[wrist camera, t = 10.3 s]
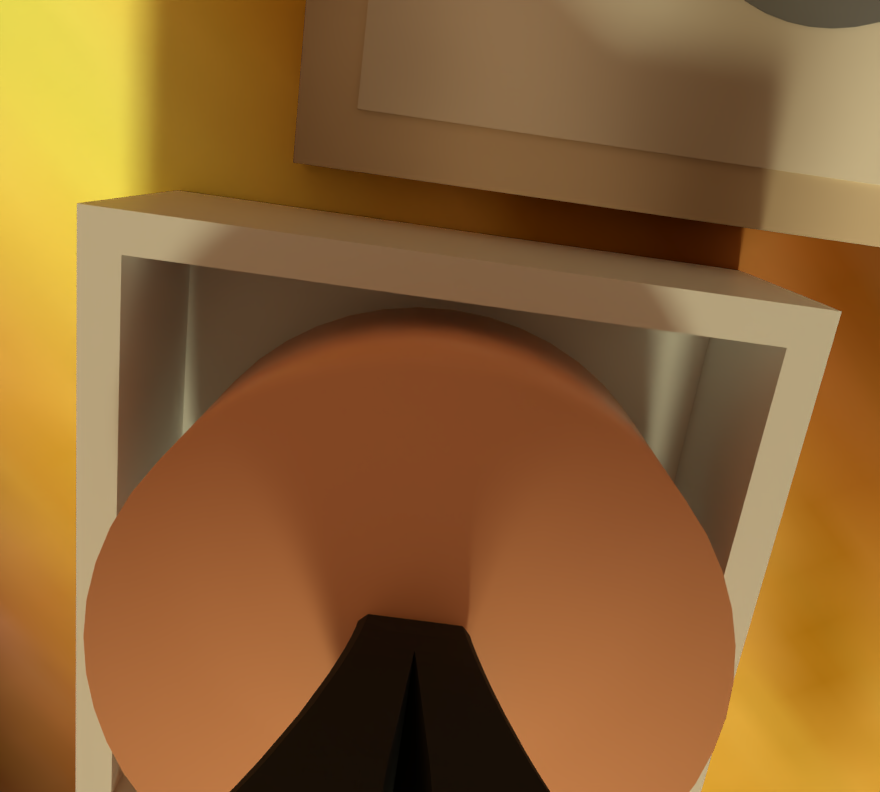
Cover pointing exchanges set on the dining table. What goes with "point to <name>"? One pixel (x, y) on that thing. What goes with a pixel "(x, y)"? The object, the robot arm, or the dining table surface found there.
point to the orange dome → (412, 558)
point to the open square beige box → (442, 287)
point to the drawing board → (609, 104)
